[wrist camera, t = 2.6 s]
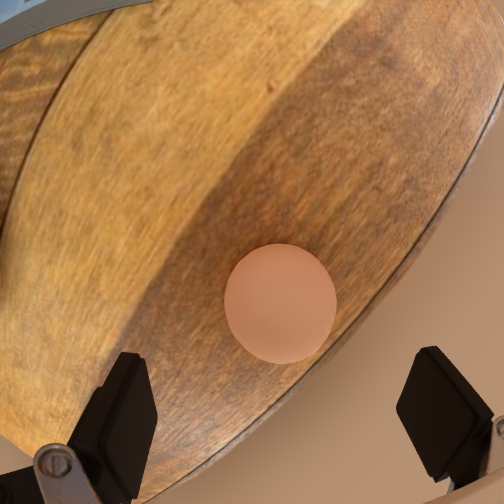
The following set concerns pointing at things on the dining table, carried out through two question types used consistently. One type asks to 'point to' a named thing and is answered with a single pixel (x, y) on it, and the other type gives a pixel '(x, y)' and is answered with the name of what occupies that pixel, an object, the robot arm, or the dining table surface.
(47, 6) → the grid
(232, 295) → the egg
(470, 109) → the dining table surface
